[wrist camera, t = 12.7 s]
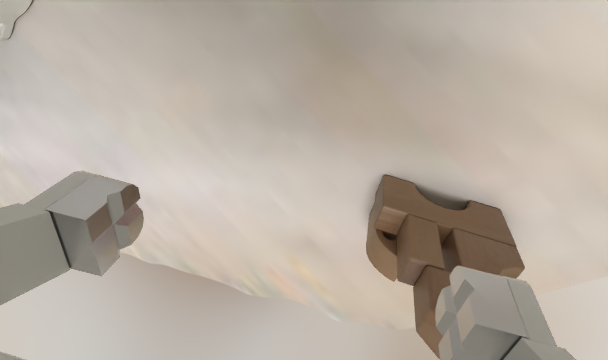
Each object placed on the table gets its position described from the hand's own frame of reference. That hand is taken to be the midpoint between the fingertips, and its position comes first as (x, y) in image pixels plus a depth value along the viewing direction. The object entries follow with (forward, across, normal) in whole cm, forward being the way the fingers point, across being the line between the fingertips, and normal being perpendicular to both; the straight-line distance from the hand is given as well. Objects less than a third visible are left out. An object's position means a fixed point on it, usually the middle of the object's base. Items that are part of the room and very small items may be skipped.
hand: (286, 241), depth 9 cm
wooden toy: (+29, -13, +18) cm, 37 cm away
